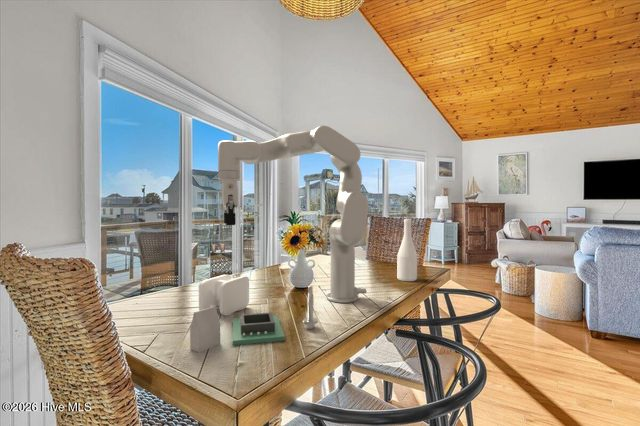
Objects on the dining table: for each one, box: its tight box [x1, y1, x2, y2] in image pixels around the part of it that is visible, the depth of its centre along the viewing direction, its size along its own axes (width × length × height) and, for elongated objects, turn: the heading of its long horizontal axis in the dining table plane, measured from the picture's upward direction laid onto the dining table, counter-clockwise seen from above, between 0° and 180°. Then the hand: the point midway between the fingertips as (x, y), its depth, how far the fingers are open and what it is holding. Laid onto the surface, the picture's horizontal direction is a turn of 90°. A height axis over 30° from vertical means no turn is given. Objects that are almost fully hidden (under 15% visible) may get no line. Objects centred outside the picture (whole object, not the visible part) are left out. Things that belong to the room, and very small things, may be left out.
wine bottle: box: [396, 218, 418, 282], centre depth 172 cm, size 10×10×30 cm
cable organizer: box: [198, 274, 250, 317], centre depth 123 cm, size 15×11×12 cm
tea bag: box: [189, 306, 221, 353], centre depth 93 cm, size 4×7×10 cm, turn 145°
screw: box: [302, 285, 319, 330], centre depth 107 cm, size 13×5×5 cm
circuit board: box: [232, 312, 286, 346], centre depth 104 cm, size 14×18×4 cm
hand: (229, 224), depth 126 cm, fingers open, 9 cm apart
